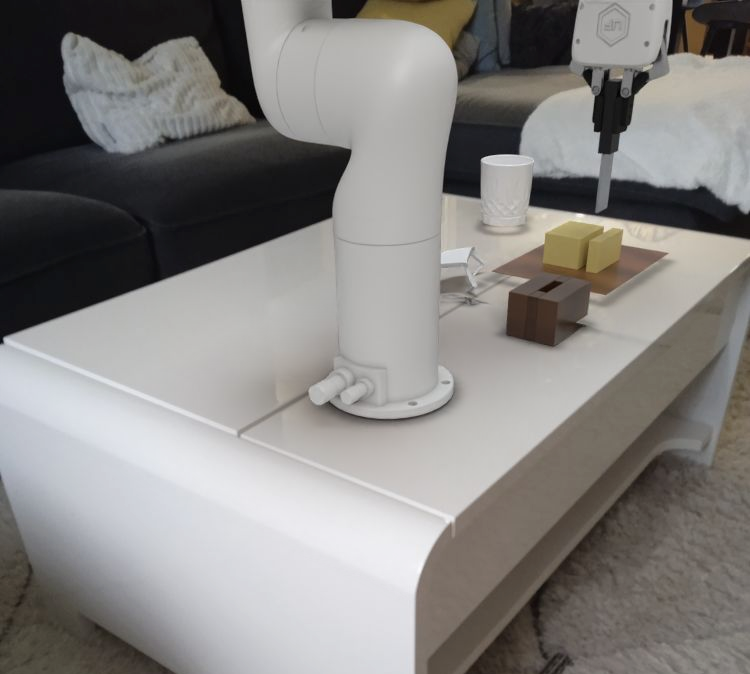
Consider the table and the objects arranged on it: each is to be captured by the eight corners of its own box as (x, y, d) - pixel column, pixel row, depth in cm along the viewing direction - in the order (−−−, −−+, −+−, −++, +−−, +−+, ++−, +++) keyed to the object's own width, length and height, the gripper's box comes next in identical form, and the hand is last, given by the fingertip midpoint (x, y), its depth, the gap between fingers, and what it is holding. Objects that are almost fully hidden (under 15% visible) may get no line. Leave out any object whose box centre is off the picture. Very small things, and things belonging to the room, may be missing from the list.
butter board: (604, 304, 100) (605, 294, 99) (490, 280, 108) (491, 270, 107) (667, 261, 113) (669, 252, 112) (561, 242, 121) (562, 234, 120)
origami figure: (466, 314, 98) (468, 274, 95) (403, 304, 101) (403, 264, 98) (503, 284, 107) (505, 246, 104) (443, 275, 110) (444, 238, 107)
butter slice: (596, 273, 105) (600, 242, 103) (585, 271, 106) (589, 240, 104) (619, 259, 110) (623, 229, 108) (608, 257, 111) (612, 227, 109)
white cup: (527, 221, 131) (532, 154, 125) (530, 235, 124) (536, 165, 119) (477, 221, 132) (480, 154, 126) (477, 235, 125) (481, 165, 120)
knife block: (553, 346, 89) (558, 302, 87) (505, 334, 92) (508, 291, 90) (586, 324, 94) (591, 281, 92) (539, 313, 98) (543, 271, 95)
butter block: (577, 270, 107) (580, 238, 105) (542, 263, 109) (545, 232, 107) (600, 256, 111) (604, 226, 109) (566, 250, 114) (569, 220, 112)
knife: (601, 214, 104) (617, 82, 95) (590, 212, 105) (604, 81, 96) (612, 208, 106) (628, 78, 97) (600, 206, 107) (615, 77, 98)
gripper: (551, -49, 91) (537, 130, 102) (691, -53, 83) (661, 143, 93) (581, -50, 96) (565, 121, 106) (717, -54, 88) (685, 132, 98)
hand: (610, 130), depth 100 cm, fingers closed on knife, 1 cm apart
